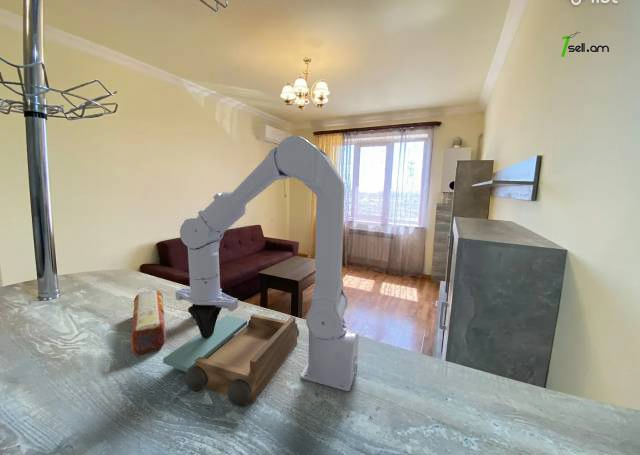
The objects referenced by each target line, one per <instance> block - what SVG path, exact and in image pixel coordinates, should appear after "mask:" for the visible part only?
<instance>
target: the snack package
mask: <svg viewBox="0 0 640 455" xmlns="http://www.w3.org/2000/svg"><path fill="white" fill-rule="evenodd" d="M166 331H167V330H166V323H165V312H164V297H163V294H162V292H160V291H159V290H157V289H156V290H146V291H142V292H140V293H138V294H136V296H135V297H134V300H133V312H132V330H131V336H130V344H131V350H132V353H133V354H135V355H137V356H141V355H145V354H149V353H153V352H156V351H158V350H160V349H162V348H163V346H164V345H165V343H166V340H167V338H166V337H167V335H166Z"/></svg>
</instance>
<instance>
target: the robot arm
mask: <svg viewBox="0 0 640 455" xmlns="http://www.w3.org/2000/svg"><path fill="white" fill-rule="evenodd" d="M293 178H294V179H295V180H298V181H299V182H302V183H303V184H304V185H305V186H306V187H307V188H308V189H309V190H310V191H311V192H312V194H313V193H314V195H315V197H316V200H315V206H316V207H315V264H314V268H315V269H314V275H315V276H314V284H313V285H314V286H313V290H312V294H311V295H312V296H311V305H310V308H309V310H308V312H307V314H306V318H305V323H306V324H305V325H306V327H307V329H308V355H307V357H308V358H307V359H308V361H307V364H306V365H305V367H304V368H303V370H302V371H301V373H300V378H301V379H303V380H305V381H310V382H314V383H317V384H321V385H323V386H328V387H331V388H333V389H334V388H335V389H338V390H342V391H345V392H349V391H350V390H351V387H352V385H353V381H354V378H355V376H356V373H357V371H358V365H359V364H358V362H359V361H358V357H359V333H358V332H356V331H353V330H351V329H349V328H348V325H347V324H346V321H345V319H344V315H345V313H346V310H347V307H348V297H347V295H346V293H345V291H344V282H343V279H342V278H343V274H342V273H343V251H344V250H343V249H344V247H343V246H344V217H345V216H344V214H345V213H344V212H345V182H344V180H343V178H342V176H340V174H339V172H338V171H337V169H336V167H335V165H334V164H333V163H332V160H331V158H330V156H329V155H328V153H326V152H325V151H324V150H323V149H321V148H320V147H319V146H317V145H315V144H312V143H311V142H310V141H309V140H307V139H306V138H304V137H303V136H299V135H290V136H289V135H288V136H287V137H284V139H282V140H281V141H280V142H279V144H278V146H275V147H273V148H271V149H270V150H269V152H268V153H267V154H266V156H265V158H264V159H263V160H262V161H261V162H260V163H259V164H258V165H257V166H256V168H254V169H253V170H252V171H251V173H249V175H248V176H246V178H245V179H244V180H243V181H242V182H241V183H239V185H237V187H236V188H235V189H234V190H233V191H231V192H229V191H224V192H221V193H220V192H219V193H216V194H214V196H213V201H212V202H211V203H210V204H208V205H207V206H206V208H205V209H200V210H199V211H198V212H197V214H198V215H197V216H196V218H195V217H194V218H193V217H191V218H186V219H185V220H184V221H183V223H182V224H181V226H180V228H179V237H180V240H181V242H182V243H183V244H184V245H185V246H186V247H187V256H188V257H187V259H188V272H189V273H188V277H189V288H183V287H182V288H181V289H177V290H176V291H175V300H177V301H182V300H184V301H188V302H189V303H190V304H192V305H191V306H189V307H188V308H187V312H188V314H190V315H191V317H192V319H193V318H194V319H193V320H194V322H196V325H197V328H198V330H199V333H201V336H202V337H203V338H208V337H210V336H211V335H212V334H213V333H214V328H215V324H216V322H217V321H218V318H219V314H220V312H222V309H227V311H229V312H234V311H235V310H236V309H238V308H239V300H238V299H239V298H235V297H233V296H231V295H228V294H227V293H224V292H222V290H223V288H221V282H220V281H221V280H220V279H221V278H220V276H221V275H220V255H219V254H220V251H219V249H220V242H221V240H222V239H223V237H224V235H225V232H226V231H227V230H228V229H230V228H231V227H232V226H233V225H234V224H235V223H236V222H237V221H239V220H240V219H241V218H242V217H243V216H244V215H246V214H245V213H246V209H247V208H246V205H247V204H248V203H251V201H252V200H253V199H255V198H256V197H257V196H258V195H260V194H261V193H262V192H264V190H266V189H268V188H269V187H270V186H271V185H272V184H273V183H275V182H276V181H279V180H287V179H293Z"/></svg>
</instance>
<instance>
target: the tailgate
mask: <svg viewBox="0 0 640 455" xmlns="http://www.w3.org/2000/svg"><path fill="white" fill-rule="evenodd" d="M247 325H248V320H246V319H243V318H240V317H236V316H233V315H229V314H226V315H224V316H222V317H221V318H220V319H219V320H218V319H217V320H216V324H215V328H214V333H213V334H212V335H211V336H210V337H208V338H203V337H202V336H201V333H200V332H199V333H198V334H197V335H195V336H194V337H192V338H191V339H189V340H188V341H187V342H185V343H184V344H182V345H181V346H179V347H178V348H176V349H175V350H173V351H172V352H170V353H169V354H168V355H166V356H165V357H163V358H162V362H163V364H164V365H167V366H170V367H172V368H174V369H176V370H180V371H182V372H185V373H186V372H187V371H188V370H189V369H190V368H192V367H193V366H195V360H196V359H197V358H199V357H202V358H205V359H208V358H209V357H210V356H211V355H212V354H214V353H215V352H216V351H217V350H218V349H220V348H221V347H222V346H223V345H224V344H226V343H227V342H228V341H229V340H230V339H232V338H233V337H234V336H235V335H236V334H238V333H239V332H240V331H241V330H242V329H243V328H245V327H246V326H247Z"/></svg>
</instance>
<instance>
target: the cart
mask: <svg viewBox="0 0 640 455" xmlns="http://www.w3.org/2000/svg"><path fill="white" fill-rule="evenodd" d="M299 336H300V330H299V327H298V323H297V322H296V316H290V317H289V318H288V319H287V320H282V319H279V318H273V317H270V316H269V317H268V316H264V315H259V314H255V313H253V314H251V315H250V319H249V321H247V325H246V326H244V327H243V328H242V329H241V330H240V331H238V332H237V333H236V334H235V335H234V336H232V337H231V338H230V339H229V340H228V341H226V342H225V343H224V344H223V345H222V346H220V347H219V348H218V349H217V350H216V351H214V352H213V353H212V354H211V355H210V356H208V357H207V358H206V359H205V358H202V357H199V358H197V359H196V360H195V366H193V367H192V368H190V369H189V370H188V371H187V372H185V373H184V377H183V378H184V382H185V384H186V386H187V387H188V388H189V390H191V391H193V392H195V393H198V392H200V391H202V389H206V390H209V391H212V392H215V393H218V394H221V395H224V396H227V397H228V399H229V401H230V403H232V404H233V405H234V406H236V407H239V408H243V407H245V406H247V404H250V405H253V404H254V403H255V402H256V400H257V399H258V397H259V396H260V395H261V393H262V392H263V391H264V389H265V388H266V387H267V385H268V383H269V382H270V381H271V379H272V378H273V377H274V376H275V374H276V373H277V371H278V370H279V368H280V367H281V366H282V365H283V363H285V360H287V358H288V357H289V355H290V354H291V353H292V351H293V350H294V348H295V347H296V346H297V345H298V338H299Z"/></svg>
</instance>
